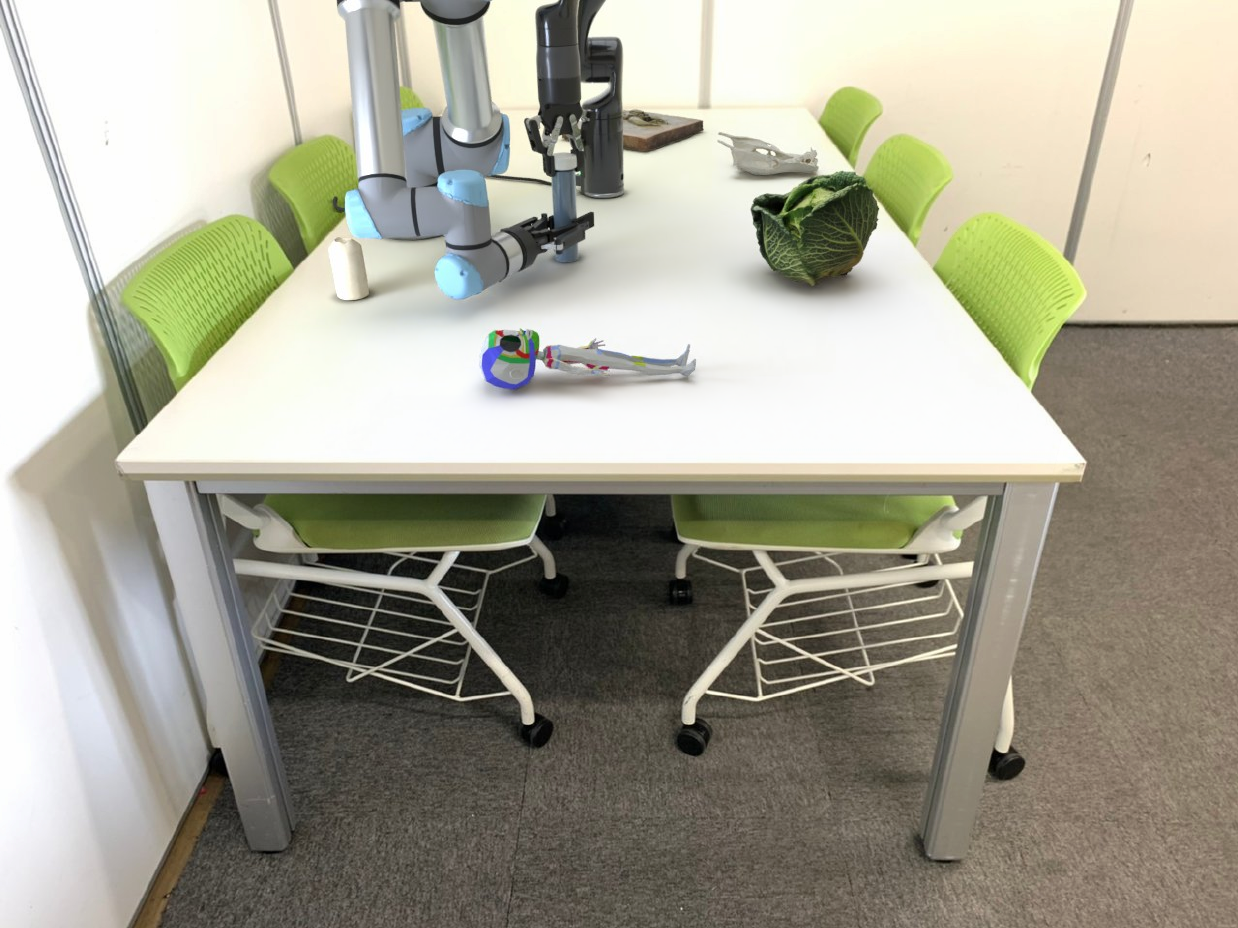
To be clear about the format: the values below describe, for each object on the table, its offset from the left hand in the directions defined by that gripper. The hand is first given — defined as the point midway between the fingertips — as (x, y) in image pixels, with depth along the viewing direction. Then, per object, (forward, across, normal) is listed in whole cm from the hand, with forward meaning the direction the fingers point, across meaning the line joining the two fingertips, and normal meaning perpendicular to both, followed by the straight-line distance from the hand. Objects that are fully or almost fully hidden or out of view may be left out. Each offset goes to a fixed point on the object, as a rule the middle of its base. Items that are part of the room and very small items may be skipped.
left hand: (581, 217), depth 172 cm
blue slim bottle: (-5, 0, -7) cm, 8 cm away
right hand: (-5, 0, +10) cm, 11 cm away
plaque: (+91, -41, -7) cm, 100 cm away
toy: (-46, +31, -7) cm, 56 cm away
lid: (-5, 0, +12) cm, 13 cm away
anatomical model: (+71, +9, -7) cm, 71 cm away
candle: (-39, -22, -7) cm, 46 cm away
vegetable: (+7, +44, -7) cm, 45 cm away
